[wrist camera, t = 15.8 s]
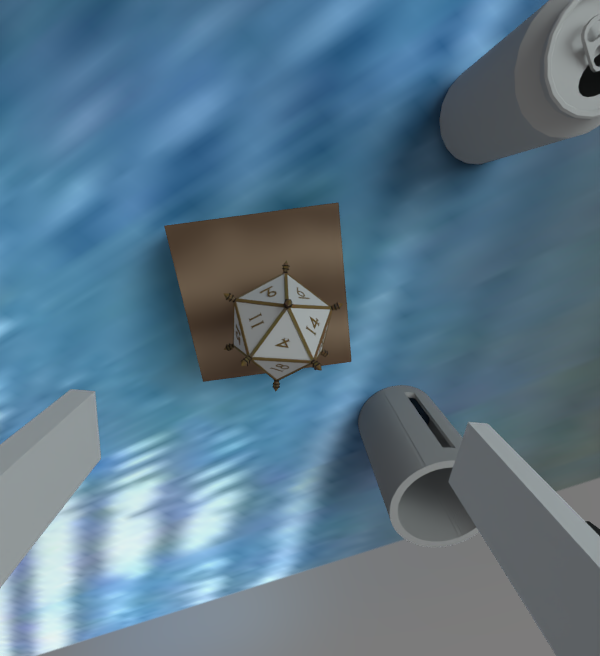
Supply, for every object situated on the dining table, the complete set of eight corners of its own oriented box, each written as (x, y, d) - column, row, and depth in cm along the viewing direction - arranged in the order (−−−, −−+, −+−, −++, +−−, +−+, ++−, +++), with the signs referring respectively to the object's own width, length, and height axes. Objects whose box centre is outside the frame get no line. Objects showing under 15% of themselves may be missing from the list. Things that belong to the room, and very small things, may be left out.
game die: (218, 234, 22) (300, 312, 16) (305, 252, 28) (389, 314, 22) (188, 338, 26) (246, 432, 20) (270, 335, 32) (334, 407, 26)
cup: (371, 461, 39) (405, 559, 28) (348, 401, 37) (376, 482, 25) (442, 437, 39) (508, 527, 27) (424, 374, 36) (489, 445, 24)
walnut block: (183, 225, 30) (164, 225, 26) (330, 205, 30) (338, 202, 26) (214, 359, 35) (203, 381, 30) (342, 342, 35) (351, 361, 30)
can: (463, 184, 30) (574, 161, 18) (418, 113, 28) (510, 38, 16) (534, 123, 28) (700, 58, 17) (491, 44, 26) (647, -89, 15)
